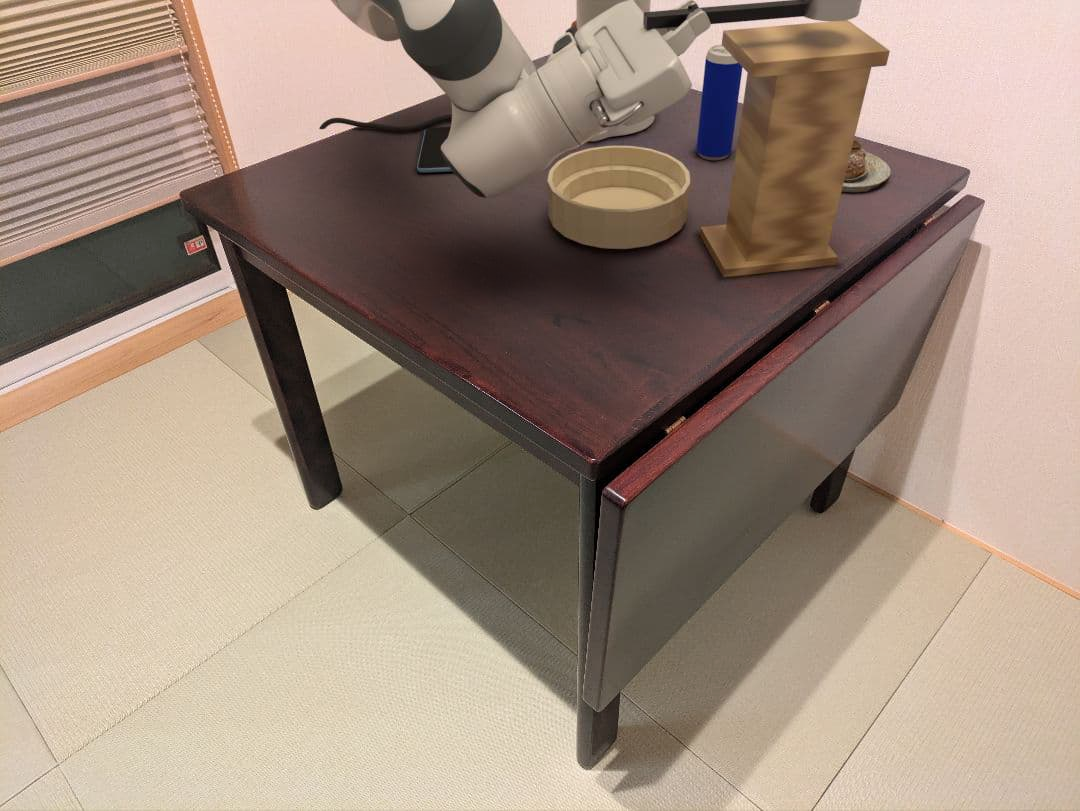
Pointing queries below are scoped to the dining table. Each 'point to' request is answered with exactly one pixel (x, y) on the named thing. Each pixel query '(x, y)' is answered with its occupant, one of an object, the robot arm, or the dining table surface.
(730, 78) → the beverage can
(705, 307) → the dining table surface
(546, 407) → the dining table surface
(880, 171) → the pastry
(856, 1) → the black handled spatula
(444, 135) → the smartphone
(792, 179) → the wooden column stand
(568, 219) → the bowl
